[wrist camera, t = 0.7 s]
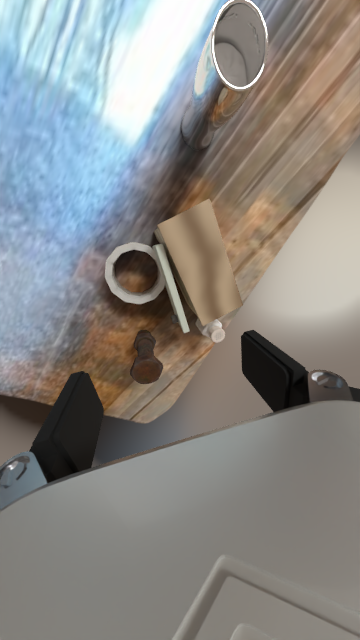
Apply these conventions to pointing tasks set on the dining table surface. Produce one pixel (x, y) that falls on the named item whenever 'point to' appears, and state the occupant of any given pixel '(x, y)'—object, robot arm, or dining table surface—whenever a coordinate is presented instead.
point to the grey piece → (163, 280)
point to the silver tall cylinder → (225, 70)
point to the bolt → (145, 359)
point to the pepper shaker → (211, 330)
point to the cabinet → (198, 262)
